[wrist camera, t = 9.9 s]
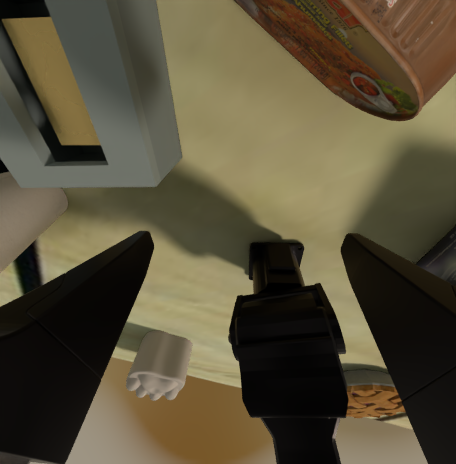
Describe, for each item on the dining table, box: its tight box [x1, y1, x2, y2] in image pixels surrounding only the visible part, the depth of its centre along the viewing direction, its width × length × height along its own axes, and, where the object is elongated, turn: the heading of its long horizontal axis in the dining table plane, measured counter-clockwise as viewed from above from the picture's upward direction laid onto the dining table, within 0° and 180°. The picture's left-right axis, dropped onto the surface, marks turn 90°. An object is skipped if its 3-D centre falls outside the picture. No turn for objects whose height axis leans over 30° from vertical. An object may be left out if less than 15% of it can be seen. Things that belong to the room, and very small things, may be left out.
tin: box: [235, 0, 456, 121], centre depth 10 cm, size 15×3×8 cm, turn 58°
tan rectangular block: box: [1, 17, 101, 145], centre depth 14 cm, size 6×3×5 cm, turn 1°
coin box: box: [0, 0, 182, 188], centre depth 13 cm, size 11×10×7 cm
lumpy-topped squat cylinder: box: [126, 330, 192, 401], centre depth 40 cm, size 10×13×9 cm
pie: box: [343, 370, 406, 418], centre depth 47 cm, size 22×22×5 cm
